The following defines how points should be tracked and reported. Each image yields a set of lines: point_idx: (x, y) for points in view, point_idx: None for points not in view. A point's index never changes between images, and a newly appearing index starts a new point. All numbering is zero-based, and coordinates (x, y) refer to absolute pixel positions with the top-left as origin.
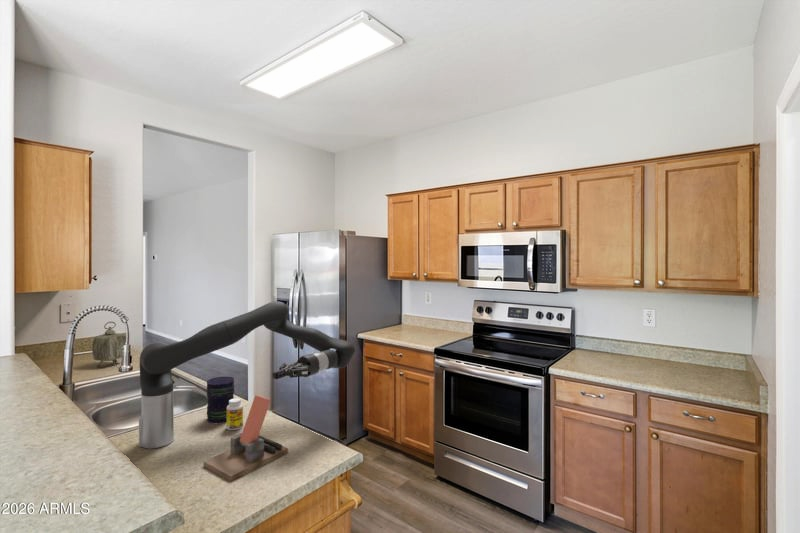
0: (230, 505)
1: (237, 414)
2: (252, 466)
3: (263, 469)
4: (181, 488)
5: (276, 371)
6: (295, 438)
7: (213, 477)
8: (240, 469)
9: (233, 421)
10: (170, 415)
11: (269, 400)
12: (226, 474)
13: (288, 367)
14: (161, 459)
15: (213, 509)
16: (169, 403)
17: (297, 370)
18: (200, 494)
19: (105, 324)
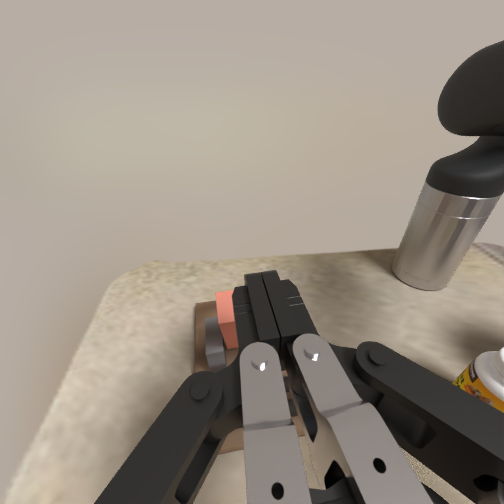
0: (144, 291)
1: (469, 386)
2: (195, 341)
3: (181, 364)
4: (237, 267)
5: (275, 287)
6: None
7: None
8: (201, 320)
9: (455, 384)
10: (426, 240)
11: (218, 318)
12: (209, 302)
13: (324, 423)
14: (343, 267)
15: (158, 277)
16: (435, 216)
17: (126, 462)
18: (203, 276)
19: None
